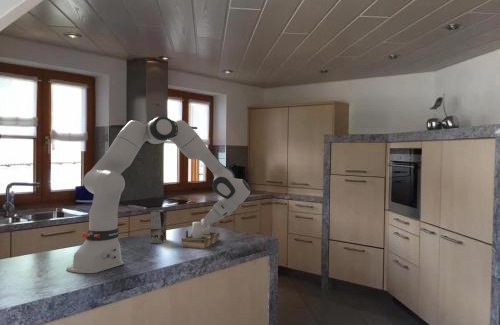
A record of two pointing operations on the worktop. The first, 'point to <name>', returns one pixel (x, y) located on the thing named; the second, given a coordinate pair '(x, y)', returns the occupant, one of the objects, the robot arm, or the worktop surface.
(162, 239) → the coffee box
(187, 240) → the wooden compartment tray
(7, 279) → the worktop surface
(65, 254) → the worktop surface
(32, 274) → the worktop surface
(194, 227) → the white rounded cylinder
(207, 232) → the sleeve
